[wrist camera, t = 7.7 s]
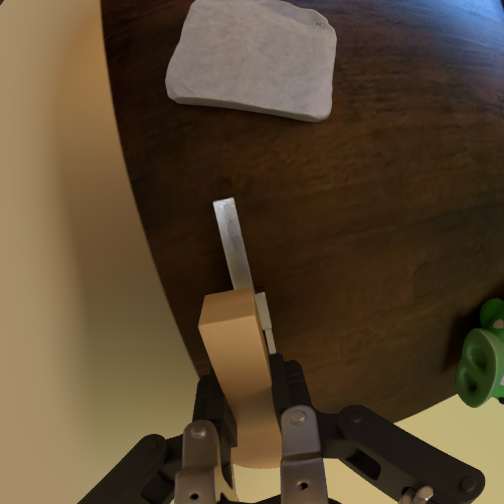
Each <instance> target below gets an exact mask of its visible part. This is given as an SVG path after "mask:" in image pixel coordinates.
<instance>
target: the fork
mask: <svg viewBox="0 0 504 504" xmlns="http://www.w3.org/2000/svg"><path fill="white" fill-rule="evenodd" d="M213 206H214V211H215V215H216V219H217V223H218V228H219V232H220V236H221V240H222V244H223V248H224V252H225V256H226V260H227V264H228V268H229V272H230V276H231V280H232V284H233V288H234V290H236V289H241V288H245V287H250V286H251V287H252V288H253V291H254V296H255V300H256V304H257V309H258V313H259V317H260V321H261V326H262V330H265V334H266V339H267V343H268V348H269V352H270V354H272V353H276V348H275V343H274V339H273V334H272V329H271V328H272V324H271V319H270V314H269V309H268V304H267V300H266V295H265V290H264V287H258V288H254V284H253V280H252V275H251V271H250V266H249V262H248V257H247V253H246V248H245V244H244V239H243V235H242V230H241V226H240V221H239V217H238V212H237V207H236V203H235V198H234V195H232V196H228V197H223V198H219V199H214V201H213Z"/></svg>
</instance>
